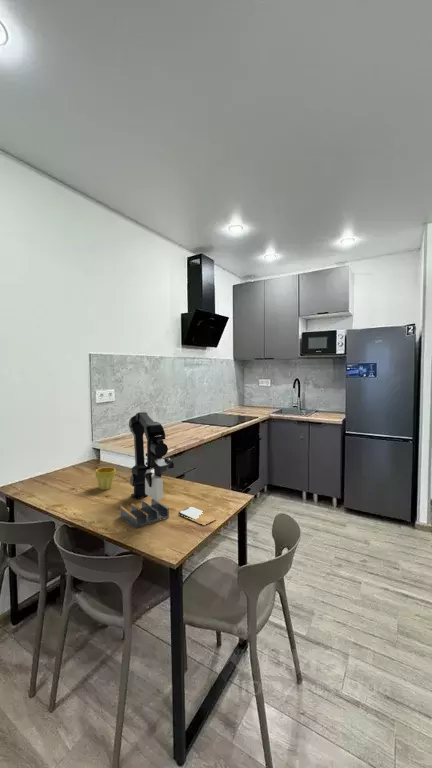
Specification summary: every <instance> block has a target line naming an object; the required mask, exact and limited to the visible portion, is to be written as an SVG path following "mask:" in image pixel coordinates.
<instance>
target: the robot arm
mask: <svg viewBox="0 0 432 768" xmlns="http://www.w3.org/2000/svg"><path fill="white" fill-rule="evenodd" d="M128 427H129V430H130V433H131V434H132V435H133V443H134V445H133V446H134V448H133V449H134V464H135V465H134V466H132V467H131V476H130V478H129V483H130V485H131V487H133V493H131V494H130V495H131V497H133V498H135V499H136V500H137V499H141V498H145V497H149V496H148V495H146V494H145V478H146V480H147V482H148V485H149V487H151V485H152V482H151V476H152V474H154V475H157V476H159V477H161V478H162V475H163V473H166V471H167V470H168V469H174V468H175V462H174V461H173V460H172V459H170V457H168V458H163V457H165V455H167V454H168V451H169V448H168V445H167V444H166V443H165V442H164V440H166V433H165V429H164V427H163V425H162V424H161V422H158V421H154V420H153V419H152V418H151V417H150V416H149V415H148V412H146V411H140V412H136V413H135V415H133V416H131V417H130V419H129V421H128ZM144 436H145V439H146V440H147V441H146V453H145V448H144V447H145V446H144V444H145V443H144ZM145 456H146V462H145ZM152 470H154V473H153V472H152Z"/></svg>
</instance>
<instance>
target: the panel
mask: <svg viewBox="0 0 432 768" xmlns="http://www.w3.org/2000/svg"><path fill="white" fill-rule="evenodd" d="M163 481H164V479H163V477H162V476H161V477H159V476H157V475H155V473H153V474H152V476H151V482H152V485H151V487H149V485H148V482H147V480H146V478H145V494H146V495H148V496H147V497H150V498H151V499H155V500H156V501H160V500H162V499H163V498H164V497H163V493H164V489H163V488H164V487H163V484H164V483H163Z"/></svg>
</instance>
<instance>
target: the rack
mask: <svg viewBox="0 0 432 768" xmlns="http://www.w3.org/2000/svg"><path fill="white" fill-rule="evenodd" d="M150 504H151V505H149V504H148V503H147V502H145V501H144V500H142V501H141V507H139V506H137V505H136V504H134V503H131V504H130V505H131V507H130V508H131V509H130V510H128V509H127V508H125V507H124V506H123V505H121V506H120V514H119V515H120V518H122V520H124V521H125V522H126V523H127V522H128V525H130V527H132V526H133V527H134V528H136V529H138V528H137V527H139V528H141V527H140V526H142V527H144V526H143V525H145V526H147V525H146V524H148V525H150V524H149V523H151V524H153V523H152V522H154V523H156V522H155V521H157V522H159V521H158V520H160V519H163V518H166V519H168V518H167V517H170V508H169V507H167V506H166V505H164V504H163V503H161V502H159V500H155V499H153V498H151V502H150ZM163 520H164V519H163ZM160 521H161V520H160ZM133 527H132V528H133ZM134 528H133V529H134Z"/></svg>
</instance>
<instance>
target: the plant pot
mask: <svg viewBox="0 0 432 768" xmlns="http://www.w3.org/2000/svg"><path fill="white" fill-rule="evenodd" d="M116 472H117V471H116V468H115V467H112V466H110V467H109V466H106V467H100V468H97V469H96V470H95V478H96V480H97V485H98V489H99V490H105V491H106V490H109V489H112V488H113V483H114V479H115V476H116V474H117V473H116Z"/></svg>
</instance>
